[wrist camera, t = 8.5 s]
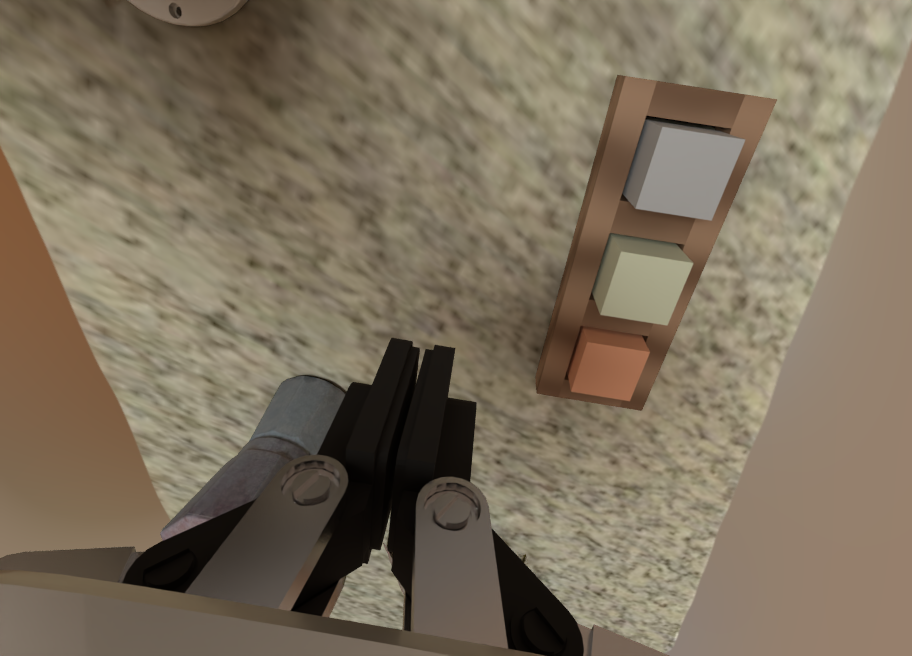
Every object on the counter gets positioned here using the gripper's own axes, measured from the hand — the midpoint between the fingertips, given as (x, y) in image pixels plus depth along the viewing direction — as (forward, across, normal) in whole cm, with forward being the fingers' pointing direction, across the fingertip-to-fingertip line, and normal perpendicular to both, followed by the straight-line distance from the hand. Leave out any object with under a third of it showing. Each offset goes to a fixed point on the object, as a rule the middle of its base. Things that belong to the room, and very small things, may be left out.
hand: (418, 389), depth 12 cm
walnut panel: (+27, -13, +5) cm, 31 cm away
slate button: (+26, -13, -3) cm, 29 cm away
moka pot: (+27, +13, +26) cm, 40 cm away
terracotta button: (+27, -13, +13) cm, 32 cm away
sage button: (+26, -13, +5) cm, 29 cm away
